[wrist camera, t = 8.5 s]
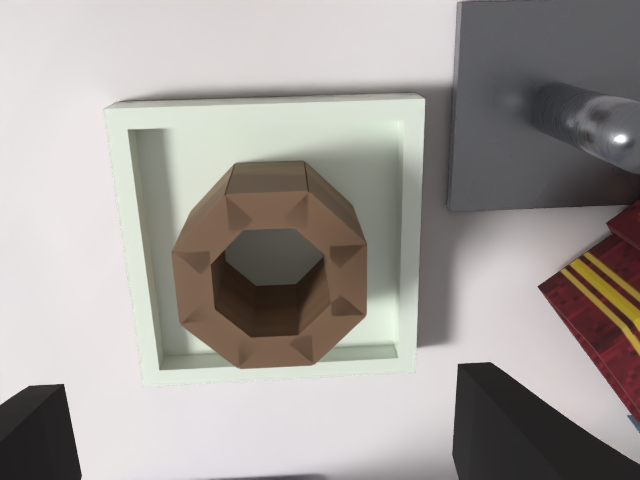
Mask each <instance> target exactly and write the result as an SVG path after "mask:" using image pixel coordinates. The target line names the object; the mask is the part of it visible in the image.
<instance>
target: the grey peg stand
mask: <svg viewBox="0 0 640 480" xmlns="http://www.w3.org/2000/svg"><path fill="white" fill-rule="evenodd" d="M639 199H640V0H528V1H487V2H457V17H456V37H455V56H454V76H453V96H452V116H451V135H450V155H449V175H448V195H447V208H448V209H449V210H450V212H459V211H483V210H508V209H533V208H558V207H583V206H608V205H632V204H634V203H635V202H637V201H638V200H639Z"/></svg>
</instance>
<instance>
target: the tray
mask: <svg viewBox="0 0 640 480" xmlns="http://www.w3.org/2000/svg"><path fill="white" fill-rule="evenodd" d="M103 112H104V119H105V126H106V133H107V140H108V146H109V153H110V160H111V167H112V174H113V181H114V188H115V195H116V202H117V209H118V215H119V222H120V229H121V236H122V243H123V250H124V257H125V264H126V271H127V278H128V284H129V291H130V298H131V305H132V312H133V319H134V326H135V333H136V340H137V347H138V354H139V360H140V367H141V374H142V381H143V387H151V386H170V385H189V384H208V383H227V382H247V381H266V380H285V379H304V378H323V377H343V376H362V375H381V374H400V373H416V345H417V317H418V289H419V261H420V232H421V204H422V176H423V148H424V120H425V98H423V97H421V96H420V95H418V94H416V93H385V94H353V95H321V96H289V97H257V98H225V99H193V100H161V101H129V102H115V103H113V104H112V105H110V106H108V107H106V108H104V109H103ZM276 161H304V162H306V163H308V164H309V165H310V166H311V167H312V168H313V169H314V170H315V171H316V172H317V173H318V174H320V175H321V176H322V177H323V178H324V179H325V180H326V181H327V182H328V183H329V184H330V185H331V186H333V187H334V188H335V189H336V190H337V191H338V192H339V193H340V194H341V195H342V196H343V197H344V198H346V199H347V200H348V201H349V202H350V203H351V204H352V205H353V207H354V210H355V213H356V215H357V218H358V221H359V224H360V226H361V229H362V232H363V235H364V237H365V240H366V243H367V315H366V317H365V318H364V319H363V320H362V321H361V322H360V323H359V324H357V325H356V326H355V327H354V328H353V329H352V330H351V331H350V332H349V333H348V334H347V335H346V336H345V337H344V338H343V339H342V340H340V341H339V342H338V343H337V344H336V345H335V346H334V347H333V348H332V349H331V350H330V351H329V352H328V353H327V354H326V355H325V356H323V357H322V358H321V359H320V360H319V361H318V362H317V363H316V364H315V365H314V364H313V366H294V367H274V368H254V369H240V368H236V367H235V366H234V365H232V364H231V363H230V362H228V361H227V360H226V359H224V358H223V357H222V356H220V355H219V354H218V353H217V352H215V351H214V350H213V349H211V348H210V347H209V346H207V345H206V344H205V343H203V342H202V341H201V340H199V339H198V338H197V337H195V336H194V335H193V334H192V333H190V332H189V331H188V330H186V329H185V328H184V327H182V326H181V325H180V324H181V323H179V316H178V307H177V298H176V290H175V281H174V272H173V263H172V255H171V252H172V250H173V247H174V245H175V243H176V241H177V239H178V237H179V235H180V232H181V230H182V228H183V226H184V224H185V222H186V220H187V218H188V215H189V213H190V211H191V210H192V209H193V208H194V207H195V206H196V205H197V204H198V202H199V201H200V200H201V199H202V198H203V197H204V196H205V195H206V194H207V193H208V192H209V190H210V189H211V188H212V187H213V186H214V185H215V184H216V183H217V182H218V181H219V180H220V178H221V177H222V176H223V175H224V174H225V173H226V172H227V171H228V170H229V169H230V168H231V167H232V165H233V164H236V163H247V162H276ZM225 257H226V262H228V263H229V264H230V265H231V266H232V267H234V268H235V269H236V270H237V271H239V272H240V273H241V274H242V275H243V276H245V277H246V278H247V279H248V280H250V281H251V282H252V283H253V284H254V285H256V286H265V285H287V284H296V283H297V282H298V281H299V280H301V279H302V278H303V277H304V276H305V275H306V274H307V273H308V272H309V271H310V270H311V269H312V268H313V267H314V266H315V265H316V264H317V263H318V262H319V261H320V260H321V259H322V258H323V253H322V252H321V251H320V250H319V249H318V248H316V247H315V246H314V245H313V244H312V243H311V242H309V241H308V240H307V239H306V238H305V237H304V236H303V235H301V234H300V233H299V232H298V231H297V230H296V229H295V228H284V229H258V230H243V231H242V232H241V233H240V234H239V235H238V236H237V237H236V239H235V240H234V241H233V242H232V243H231V244H230V245H229V246H228V247H227V248H226V249H225Z"/></svg>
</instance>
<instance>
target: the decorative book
mask: <svg viewBox="0 0 640 480" xmlns="http://www.w3.org/2000/svg"><path fill="white" fill-rule="evenodd" d="M606 224H607V226H608V227H609V229H610V230H611V232H612V235H610V236H609V237H608V238H606V239H605V240H603V241H602V242H600V243H599V244H598V245H596V246H595V247H593V248H592V249H590V250H589V251H588V252H586V253H585V254H583V255H582V256H580V257H579V258H578V259H576V260H575V261H573V262H572V263H570V264H569V265H568V266H566V267H565V268H563V269H562V270H560V271H559V272H558V273H556V274H555V275H553V276H552V277H550V278H549V279H548V280H546V281H545V282H543V283H542V284H540V285H539V286H538V288H539V289H540V291H541V292H542V293H543V295H544V296H545V298H546V299H547V300H548V302H549V303H550V304H551V306H552V307H553V308H554V310H555V311H556V312H557V314H558V315H559V317H560V318H561V319H562V321H563V322H564V323H565V325H566V326H567V327H568V329H569V330H570V332H571V333H572V334H573V336H574V337H575V338H576V340H577V341H578V342H579V344H580V345H581V346H582V348H583V349H584V351H585V352H586V353H587V355H588V356H589V357H590V359H591V360H592V361H593V363H594V364H595V365H596V367H597V368H598V370H599V371H600V372H601V374H602V375H603V376H604V378H605V379H606V380H607V382H608V383H609V384H610V386H611V387H612V389H613V390H614V391H615V393H616V394H617V395H618V397H619V398H620V399H621V401H622V402H623V404H624V405H625V406H626V408H627V409H628V410H629V412H630V413H631V414H632V415H627V416H628V418H629V419H630V420H631V422H632V423H633V424H634V426H635V427H636V429H637V430H638V431H639V433H640V199H639V200H638V201H637V202H635V203H634V204H632V205H631V206H630V207H628V208H627V209H625V210H624V211H622V212H621V213H620V214H618V215H617V216H615V217H614V218H613V219H611V220H610V221H608V222H607V223H606Z"/></svg>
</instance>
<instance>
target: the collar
mask: <svg viewBox="0 0 640 480" xmlns="http://www.w3.org/2000/svg"><path fill="white" fill-rule="evenodd" d="M284 228H295V229H296V230H297V231H298V232H299V233H300V234H301V235H303V236H304V237H305V238H306V239H307V240H308V241H309V242H311V243H312V244H313V245H314V246H315V247H316V248H318V249H319V250H320V251H321V252H322V253H323V258H322V259H321V260H320V261H319V262H318V263H317V264H316V265H315V266H314V267H313V268H312V269H311V270H310V271H309V272H308V273H307V274H306V275H305V276H304V277H303V278H302V279H301V280H299V281H298V282H297V283H296V284H287V285H265V286H256V285H254V284H253V283H252V282H251V281H250V280H248V279H247V278H246V277H245V276H243V275H242V274H241V273H240V272H239V271H237V270H236V269H235V268H234V267H232V266H231V265H230V264H229V263H228V262H226V257H225V249H226V248H227V247H228V246H229V245H230V244H231V243H232V242H233V241H234V240H235V239H236V237H237V236H238V235H239V234H240V233H241V232H242V231H243V230H258V229H284ZM171 255H172V263H173V272H174V281H175V290H176V298H177V307H178V316H179V323H181V324H180V325H181V326H182V327H184V328H185V329H186V330H188V331H189V332H190V333H192V334H193V335H194V336H195V337H197V338H198V339H199V340H201V341H202V342H203V343H205V344H206V345H207V346H209V347H210V348H211V349H213V350H214V351H215V352H217V353H218V354H219V355H220V356H222V357H223V358H224V359H226V360H227V361H228V362H230V363H231V364H232V365H234V366H235V367H236V368H240V369H254V368H274V367H294V366H313V364H314V365H315V364H316V363H317V362H318V361H319V360H320V359H321V358H322V357H323V356H325V355H326V354H327V353H328V352H329V351H330V350H331V349H332V348H333V347H334V346H335V345H336V344H337V343H338V342H339V341H340V340H342V339H343V338H344V337H345V336H346V335H347V334H348V333H349V332H350V331H351V330H352V329H353V328H354V327H355V326H356V325H357V324H359V323H360V322H361V321H362V320H363V319H364V318H365V317H366V315H367V243H366V240H365V237H364V235H363V232H362V229H361V226H360V224H359V221H358V218H357V215H356V213H355V210H354V207H353V205H352V204H351V203H350V202H349V201H348V200H347V199H346V198H344V197H343V196H342V195H341V194H340V193H339V192H338V191H337V190H336V189H335V188H334V187H333V186H331V185H330V184H329V183H328V182H327V181H326V180H325V179H324V178H323V177H322V176H321V175H320V174H318V173H317V172H316V171H315V170H314V169H313V168H312V167H311V166H310V165H309V164H308V163H306V162H304V161H276V162H247V163H236V164H233V165H232V167H231V168H230V169H229V170H228V171H227V172H226V173H225V174H224V175H223V176H222V177H221V178H220V180H219V181H218V182H217V183H216V184H215V185H214V186H213V187H212V188H211V189H210V190H209V192H208V193H207V194H206V195H205V196H204V197H203V198H202V199H201V200H200V201H199V202H198V204H197V205H196V206H195V207H194V208H193V209H192V210H191V211H190V213H189V215H188V218H187V220H186V222H185V224H184V226H183V228H182V230H181V232H180V235H179V237H178V239H177V241H176V243H175V245H174V247H173V250H172V252H171Z"/></svg>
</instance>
